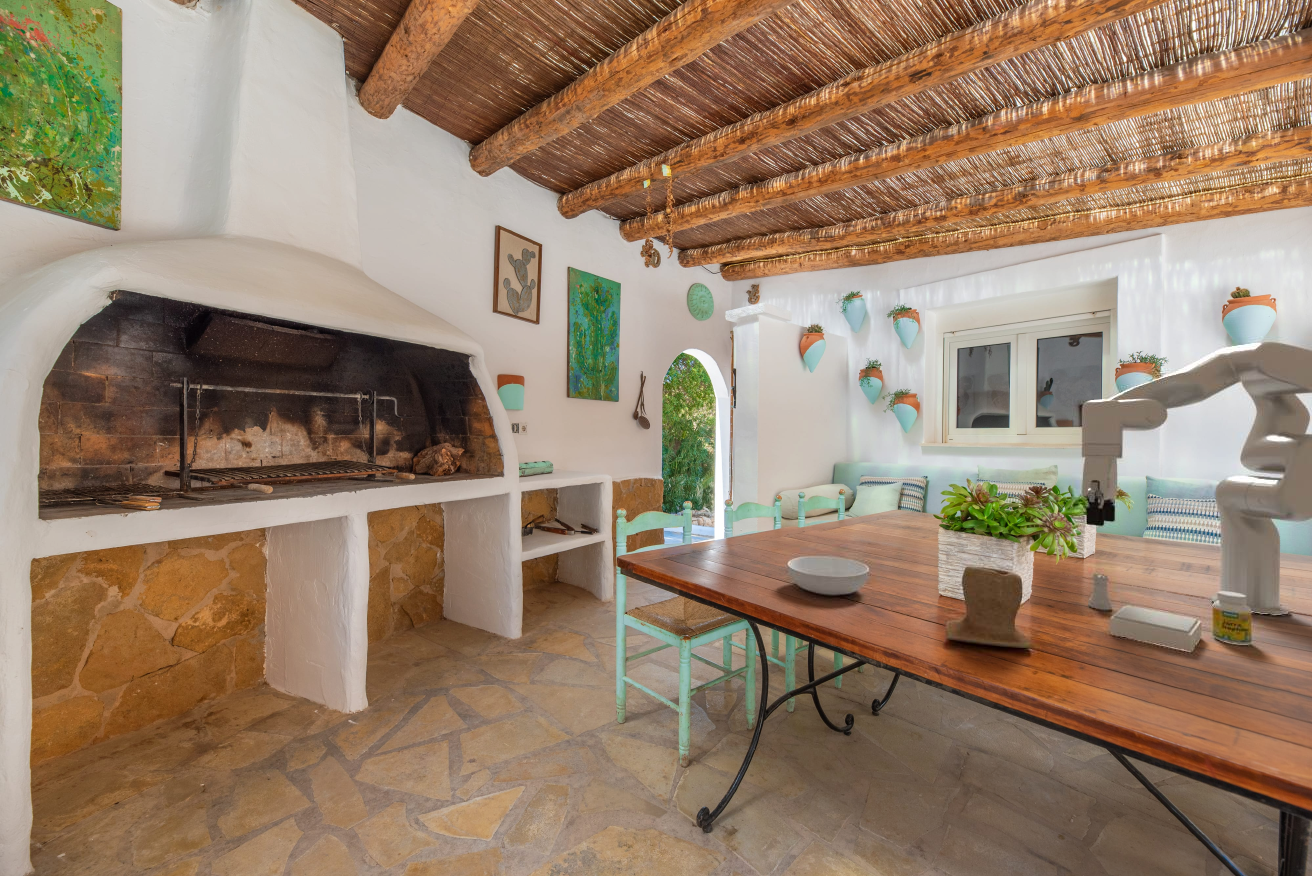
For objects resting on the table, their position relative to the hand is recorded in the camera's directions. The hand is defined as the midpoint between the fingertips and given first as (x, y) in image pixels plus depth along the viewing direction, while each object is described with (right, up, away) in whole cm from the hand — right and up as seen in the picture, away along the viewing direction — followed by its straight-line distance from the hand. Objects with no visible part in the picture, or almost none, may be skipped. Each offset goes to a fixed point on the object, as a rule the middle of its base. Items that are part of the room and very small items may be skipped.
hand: (1100, 522), depth 128 cm
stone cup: (-40, -21, -20) cm, 49 cm away
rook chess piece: (0, -21, 0) cm, 21 cm away
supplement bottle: (+10, -21, -20) cm, 31 cm away
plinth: (-4, -21, -18) cm, 27 cm away
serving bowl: (-61, -21, +15) cm, 66 cm away
